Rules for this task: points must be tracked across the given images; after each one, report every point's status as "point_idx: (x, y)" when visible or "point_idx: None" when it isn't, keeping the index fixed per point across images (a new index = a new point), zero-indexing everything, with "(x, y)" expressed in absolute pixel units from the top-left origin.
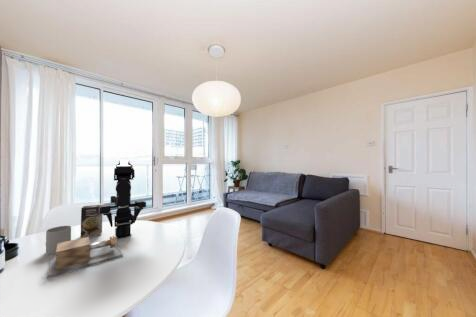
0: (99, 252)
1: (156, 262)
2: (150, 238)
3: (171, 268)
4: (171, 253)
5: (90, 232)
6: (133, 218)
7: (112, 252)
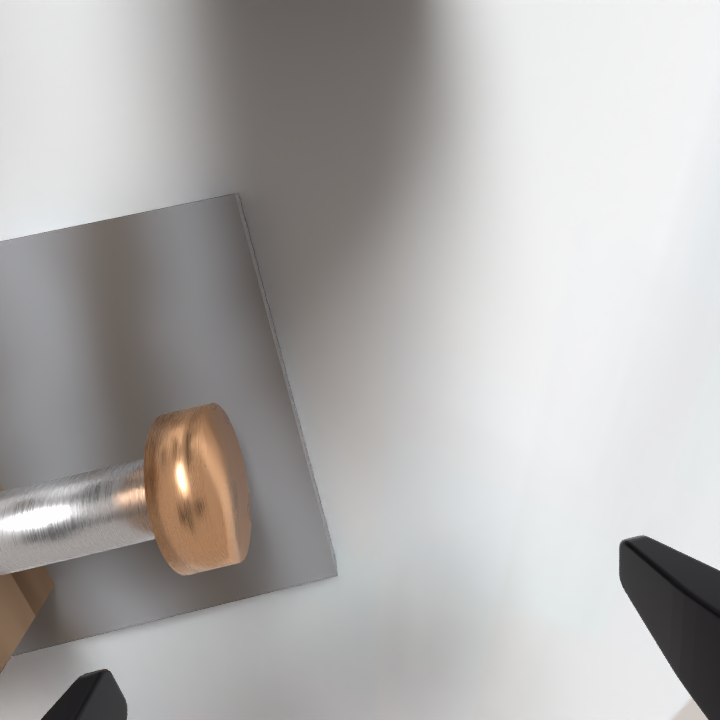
0: (91, 444)
1: (548, 713)
2: (657, 208)
3: None
4: None
5: None
6: (710, 624)
7: None
